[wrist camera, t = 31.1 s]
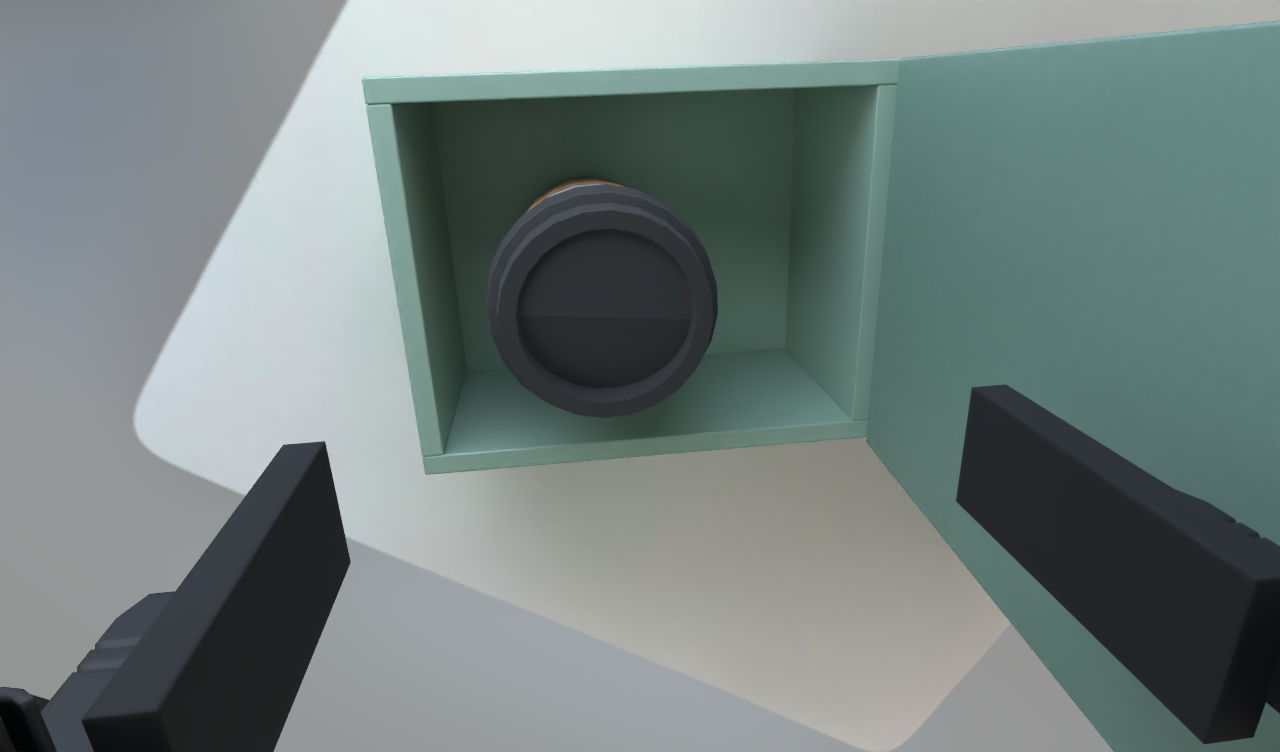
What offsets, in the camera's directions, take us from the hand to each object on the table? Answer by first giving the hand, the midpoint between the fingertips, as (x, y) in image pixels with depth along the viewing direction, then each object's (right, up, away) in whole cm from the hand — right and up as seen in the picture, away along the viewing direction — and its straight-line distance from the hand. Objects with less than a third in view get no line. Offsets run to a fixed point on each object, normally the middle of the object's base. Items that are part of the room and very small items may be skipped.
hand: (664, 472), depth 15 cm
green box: (-1, +10, +25) cm, 26 cm away
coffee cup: (-3, +9, +24) cm, 26 cm away
